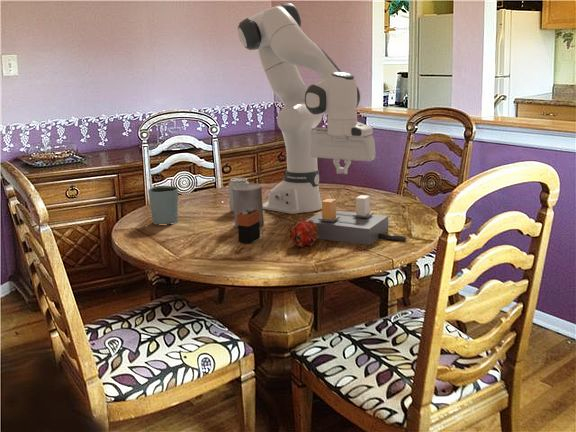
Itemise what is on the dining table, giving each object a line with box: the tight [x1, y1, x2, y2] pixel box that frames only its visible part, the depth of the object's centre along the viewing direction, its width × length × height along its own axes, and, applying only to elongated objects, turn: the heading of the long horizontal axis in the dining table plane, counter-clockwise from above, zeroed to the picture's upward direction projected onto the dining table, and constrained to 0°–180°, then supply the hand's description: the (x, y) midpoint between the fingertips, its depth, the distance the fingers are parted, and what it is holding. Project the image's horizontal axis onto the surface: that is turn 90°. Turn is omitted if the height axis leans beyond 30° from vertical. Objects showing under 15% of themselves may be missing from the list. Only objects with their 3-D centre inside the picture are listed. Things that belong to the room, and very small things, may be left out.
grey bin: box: [147, 185, 179, 225], centre depth 223 cm, size 10×10×12 cm
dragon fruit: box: [289, 218, 320, 249], centre depth 193 cm, size 8×8×12 cm
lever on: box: [353, 194, 374, 218], centre depth 203 cm, size 5×5×6 cm
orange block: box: [318, 198, 340, 222], centre depth 200 cm, size 5×5×6 cm
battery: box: [237, 208, 261, 245], centre depth 199 cm, size 4×7×10 cm, turn 153°
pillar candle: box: [233, 181, 265, 229], centre depth 214 cm, size 10×10×15 cm
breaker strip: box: [305, 210, 407, 246], centre depth 201 cm, size 31×16×5 cm, turn 61°
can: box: [228, 177, 250, 213], centre depth 235 cm, size 8×8×12 cm
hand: (342, 173), depth 195 cm, fingers closed
